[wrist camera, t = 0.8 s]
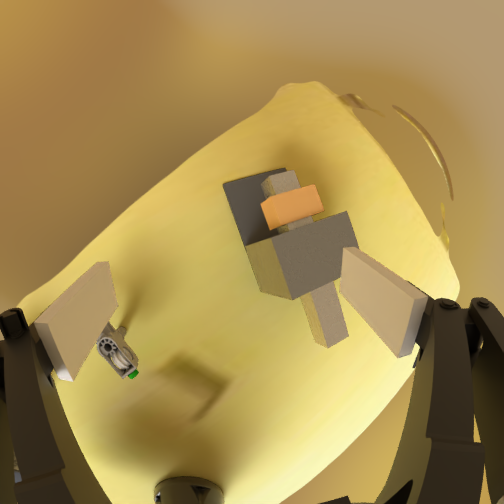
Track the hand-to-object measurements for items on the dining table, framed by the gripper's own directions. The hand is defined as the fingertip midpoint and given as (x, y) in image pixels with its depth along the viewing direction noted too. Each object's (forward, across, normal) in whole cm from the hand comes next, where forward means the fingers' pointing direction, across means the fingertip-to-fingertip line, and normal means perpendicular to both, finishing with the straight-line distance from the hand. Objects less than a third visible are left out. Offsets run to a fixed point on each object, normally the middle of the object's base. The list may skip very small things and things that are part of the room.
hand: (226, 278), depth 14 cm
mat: (+33, -8, +1) cm, 33 cm away
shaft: (+24, -11, +8) cm, 28 cm away
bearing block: (+30, -10, +10) cm, 33 cm away
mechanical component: (+22, +18, +18) cm, 33 cm away
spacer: (+26, -9, +1) cm, 27 cm away
